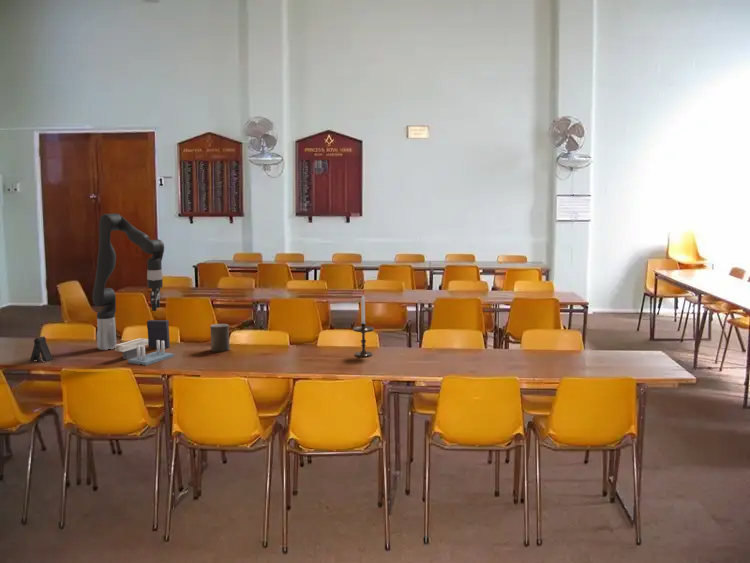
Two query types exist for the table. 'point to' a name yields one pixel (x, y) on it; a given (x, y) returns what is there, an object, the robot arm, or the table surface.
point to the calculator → (158, 332)
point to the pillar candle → (219, 337)
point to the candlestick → (363, 330)
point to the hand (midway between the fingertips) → (155, 309)
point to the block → (131, 353)
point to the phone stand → (40, 350)
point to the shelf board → (131, 344)
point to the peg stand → (151, 355)
